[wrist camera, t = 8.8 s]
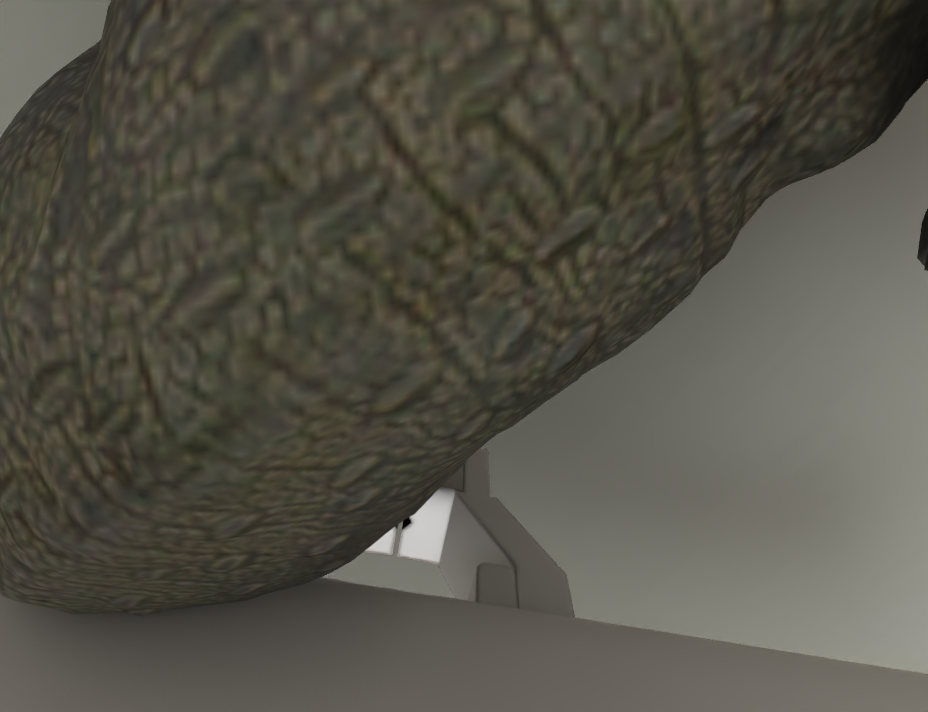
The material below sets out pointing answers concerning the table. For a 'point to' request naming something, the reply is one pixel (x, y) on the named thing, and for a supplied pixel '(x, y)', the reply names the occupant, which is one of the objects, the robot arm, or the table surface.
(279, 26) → the toy dinosaur
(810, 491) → the table surface
